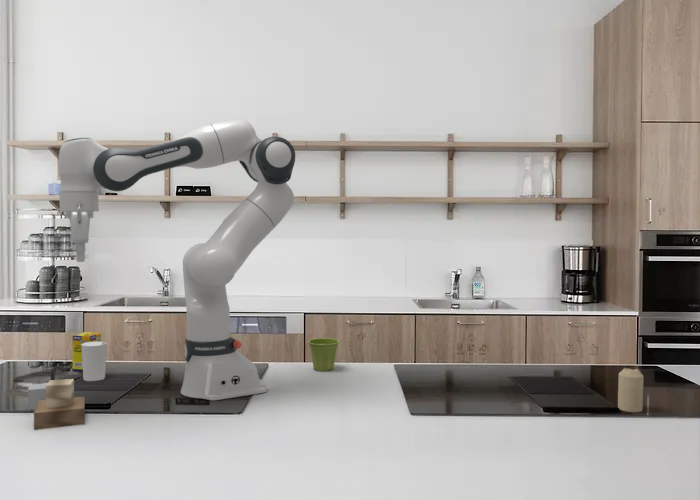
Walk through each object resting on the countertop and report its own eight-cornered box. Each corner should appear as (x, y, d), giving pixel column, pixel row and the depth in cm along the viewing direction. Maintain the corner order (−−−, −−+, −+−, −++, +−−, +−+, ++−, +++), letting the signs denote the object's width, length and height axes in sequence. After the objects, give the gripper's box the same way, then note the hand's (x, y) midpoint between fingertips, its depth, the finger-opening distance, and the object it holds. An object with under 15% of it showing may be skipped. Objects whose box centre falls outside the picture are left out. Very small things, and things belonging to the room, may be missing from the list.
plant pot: (338, 373, 187) (338, 344, 186) (306, 372, 187) (307, 343, 187) (339, 365, 196) (339, 338, 196) (309, 365, 196) (309, 338, 196)
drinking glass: (111, 377, 179) (111, 343, 179) (91, 382, 173) (90, 347, 173) (97, 374, 183) (96, 340, 182) (76, 379, 177) (76, 344, 177)
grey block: (52, 402, 155) (52, 382, 154) (51, 408, 150) (51, 387, 150) (29, 405, 153) (29, 384, 152) (28, 410, 148) (27, 389, 148)
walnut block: (84, 413, 148) (84, 396, 148) (84, 426, 139) (84, 408, 138) (37, 417, 144) (37, 400, 144) (34, 431, 135) (33, 413, 135)
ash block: (74, 400, 144) (73, 378, 144) (70, 406, 139) (70, 384, 139) (50, 401, 143) (50, 380, 143) (46, 408, 138) (45, 385, 138)
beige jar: (642, 407, 154) (643, 367, 153) (642, 413, 149) (643, 372, 148) (618, 404, 156) (619, 365, 156) (617, 410, 151) (618, 369, 151)
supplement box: (90, 372, 185) (89, 336, 184) (71, 371, 186) (71, 335, 186) (101, 368, 191) (101, 332, 190) (84, 367, 192) (83, 331, 191)
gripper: (93, 203, 146) (95, 262, 146) (92, 205, 165) (94, 257, 165) (64, 203, 143) (65, 263, 144) (66, 205, 162) (67, 258, 163)
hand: (80, 260), depth 155 cm, fingers open, 8 cm apart
